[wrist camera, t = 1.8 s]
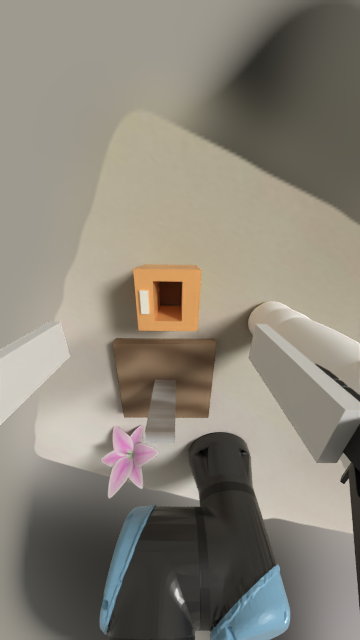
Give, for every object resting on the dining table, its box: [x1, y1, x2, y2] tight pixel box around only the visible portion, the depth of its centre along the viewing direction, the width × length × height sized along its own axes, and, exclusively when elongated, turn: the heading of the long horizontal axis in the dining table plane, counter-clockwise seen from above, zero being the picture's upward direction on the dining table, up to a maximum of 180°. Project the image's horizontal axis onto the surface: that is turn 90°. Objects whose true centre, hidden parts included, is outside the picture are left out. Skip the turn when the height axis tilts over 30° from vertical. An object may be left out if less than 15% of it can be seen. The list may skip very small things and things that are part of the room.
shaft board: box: [113, 338, 216, 443], centre depth 29 cm, size 18×18×12 cm
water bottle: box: [248, 301, 360, 395], centre depth 18 cm, size 7×7×25 cm
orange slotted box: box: [133, 265, 202, 331], centre depth 24 cm, size 8×8×7 cm
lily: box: [101, 425, 159, 498], centre depth 38 cm, size 12×12×10 cm
